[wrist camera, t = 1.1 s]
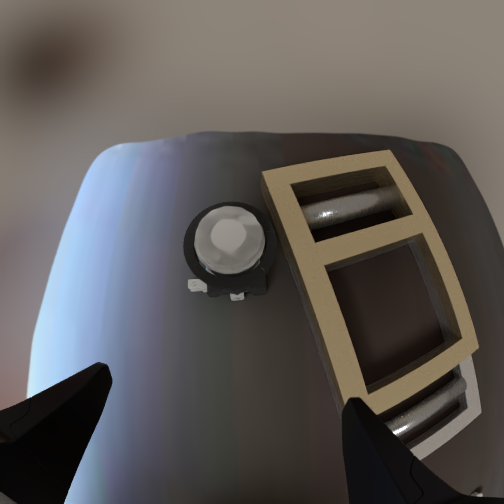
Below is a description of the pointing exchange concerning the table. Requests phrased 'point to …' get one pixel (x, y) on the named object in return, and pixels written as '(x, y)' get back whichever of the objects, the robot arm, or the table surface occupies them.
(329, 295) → the cream double window frame
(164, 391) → the table surface
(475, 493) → the adjustable wrench
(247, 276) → the push button
